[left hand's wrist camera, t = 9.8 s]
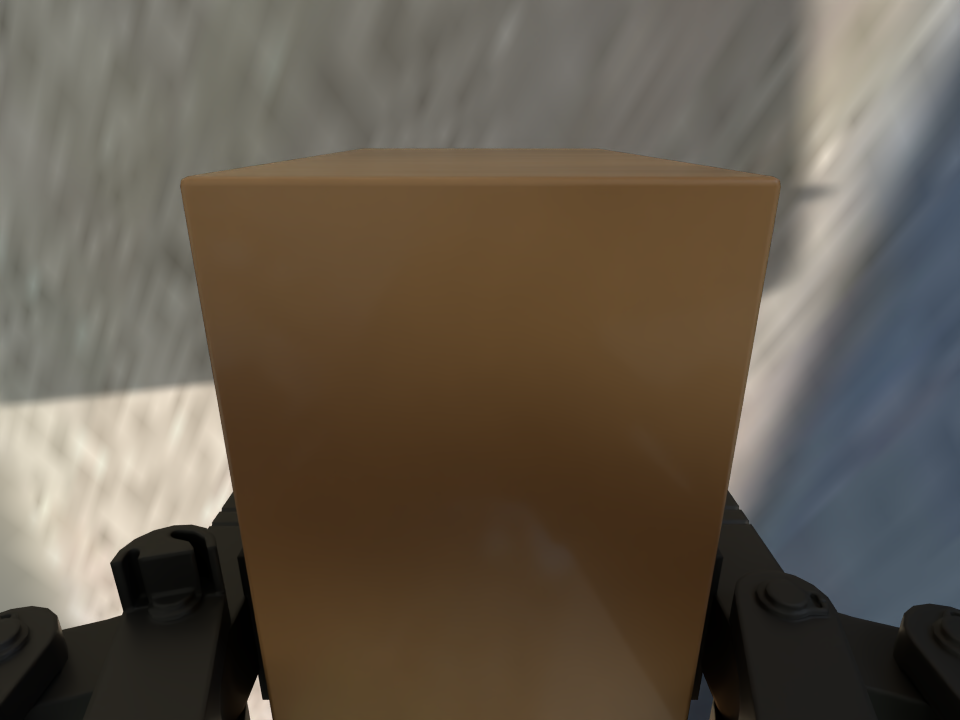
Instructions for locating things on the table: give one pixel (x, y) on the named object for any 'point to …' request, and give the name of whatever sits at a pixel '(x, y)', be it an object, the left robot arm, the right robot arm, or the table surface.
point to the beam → (480, 420)
